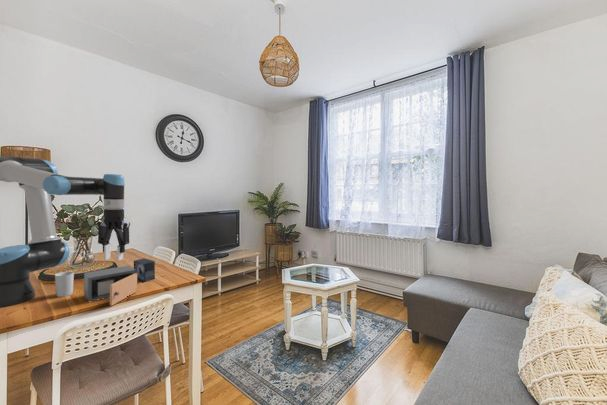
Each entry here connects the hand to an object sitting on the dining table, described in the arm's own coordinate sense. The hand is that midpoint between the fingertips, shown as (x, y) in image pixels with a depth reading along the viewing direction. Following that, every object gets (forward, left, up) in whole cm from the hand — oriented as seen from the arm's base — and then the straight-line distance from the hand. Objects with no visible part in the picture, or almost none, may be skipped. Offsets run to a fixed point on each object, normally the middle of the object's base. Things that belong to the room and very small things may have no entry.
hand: (113, 259), depth 117 cm
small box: (+19, +21, -19) cm, 34 cm away
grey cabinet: (+1, +9, -19) cm, 21 cm away
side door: (+4, -2, -18) cm, 19 cm away
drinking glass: (-14, +22, -19) cm, 33 cm away
